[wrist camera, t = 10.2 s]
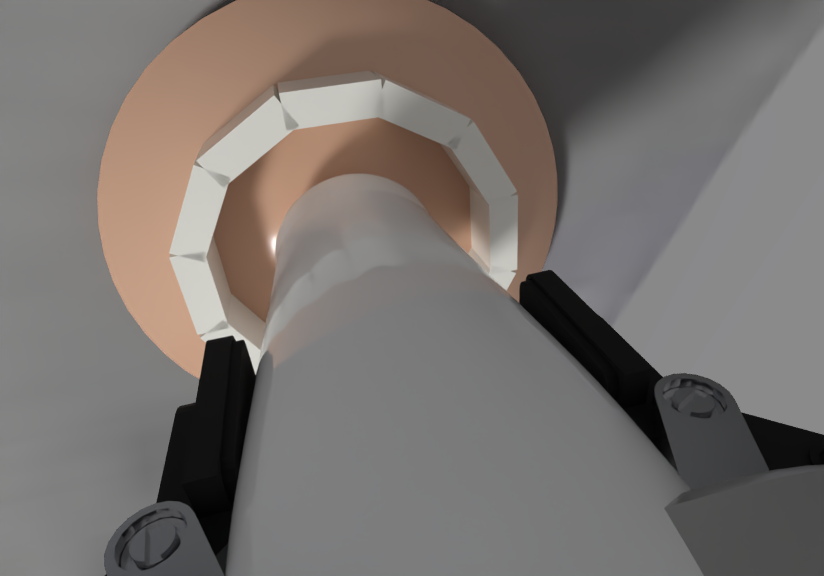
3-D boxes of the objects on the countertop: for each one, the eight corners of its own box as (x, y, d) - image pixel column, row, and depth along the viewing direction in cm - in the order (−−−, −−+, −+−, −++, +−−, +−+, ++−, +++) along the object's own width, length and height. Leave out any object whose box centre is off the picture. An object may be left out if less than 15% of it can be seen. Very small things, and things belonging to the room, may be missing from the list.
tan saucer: (12, 12, 14) (-44, 17, 12) (554, -44, 17) (606, -51, 14) (190, 434, 22) (181, 490, 20) (539, 353, 25) (570, 393, 22)
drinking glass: (476, 169, 18) (998, 633, 5) (419, 336, 20) (658, 901, 8) (269, 121, 15) (257, 734, 3) (239, 315, 18) (161, 1057, 6)
